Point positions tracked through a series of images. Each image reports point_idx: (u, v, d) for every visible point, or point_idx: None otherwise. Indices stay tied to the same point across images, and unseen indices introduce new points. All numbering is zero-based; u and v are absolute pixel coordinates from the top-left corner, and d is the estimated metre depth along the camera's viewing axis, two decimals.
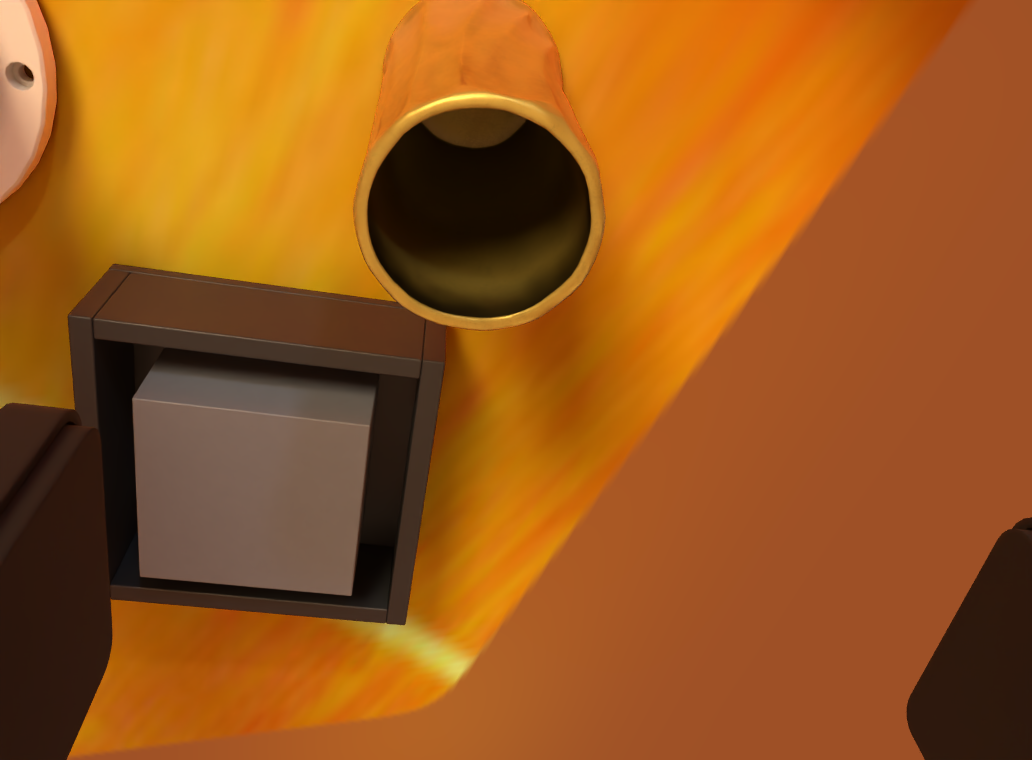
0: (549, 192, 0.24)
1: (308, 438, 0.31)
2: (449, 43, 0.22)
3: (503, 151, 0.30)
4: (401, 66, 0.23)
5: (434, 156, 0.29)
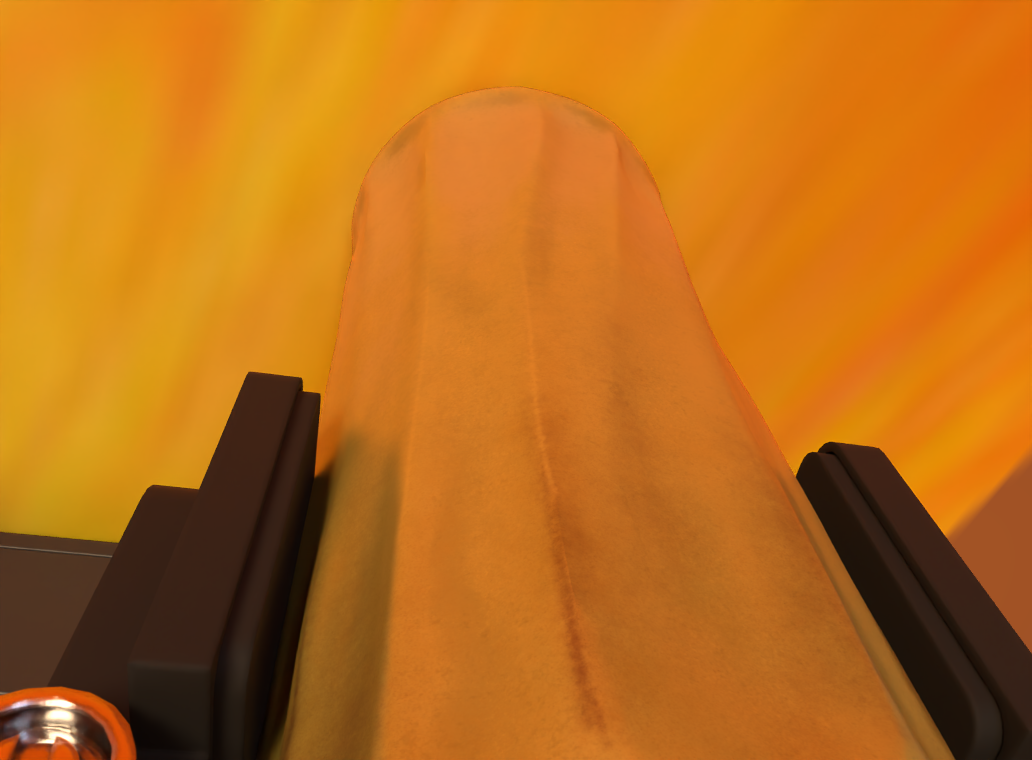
0: None
1: None
2: (492, 310, 0.09)
3: None
4: (376, 326, 0.10)
5: None
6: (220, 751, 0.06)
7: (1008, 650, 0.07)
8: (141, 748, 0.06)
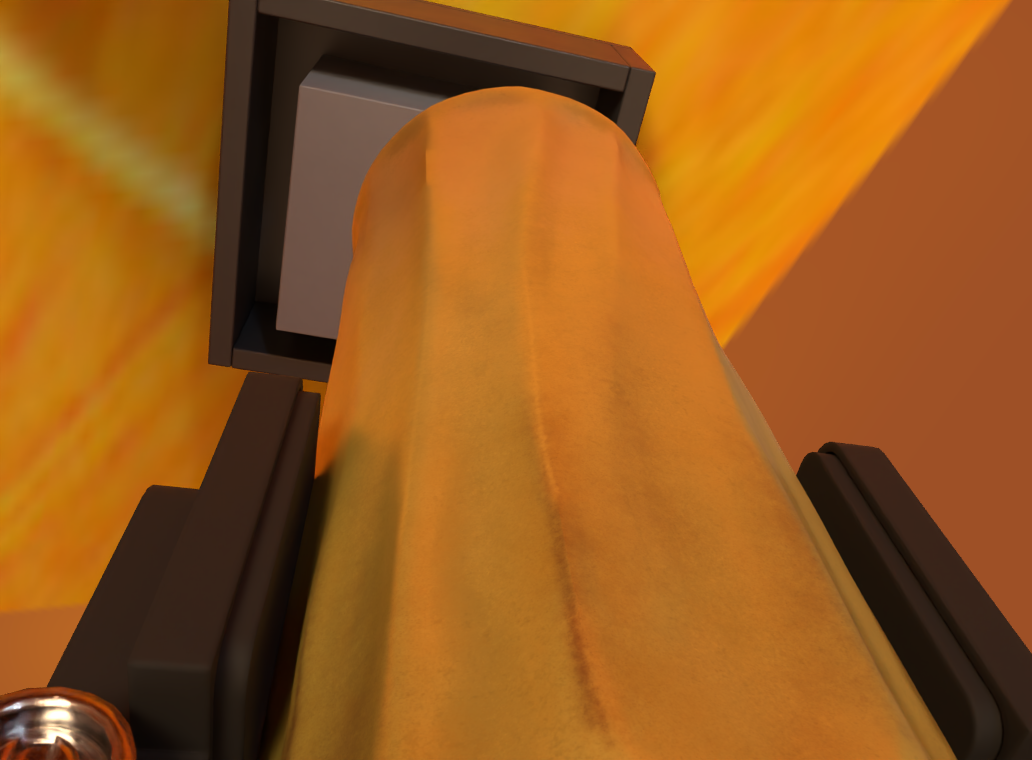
0: None
1: None
2: (493, 310, 0.09)
3: None
4: (377, 326, 0.10)
5: None
6: (220, 751, 0.06)
7: (1008, 650, 0.07)
8: (141, 748, 0.06)
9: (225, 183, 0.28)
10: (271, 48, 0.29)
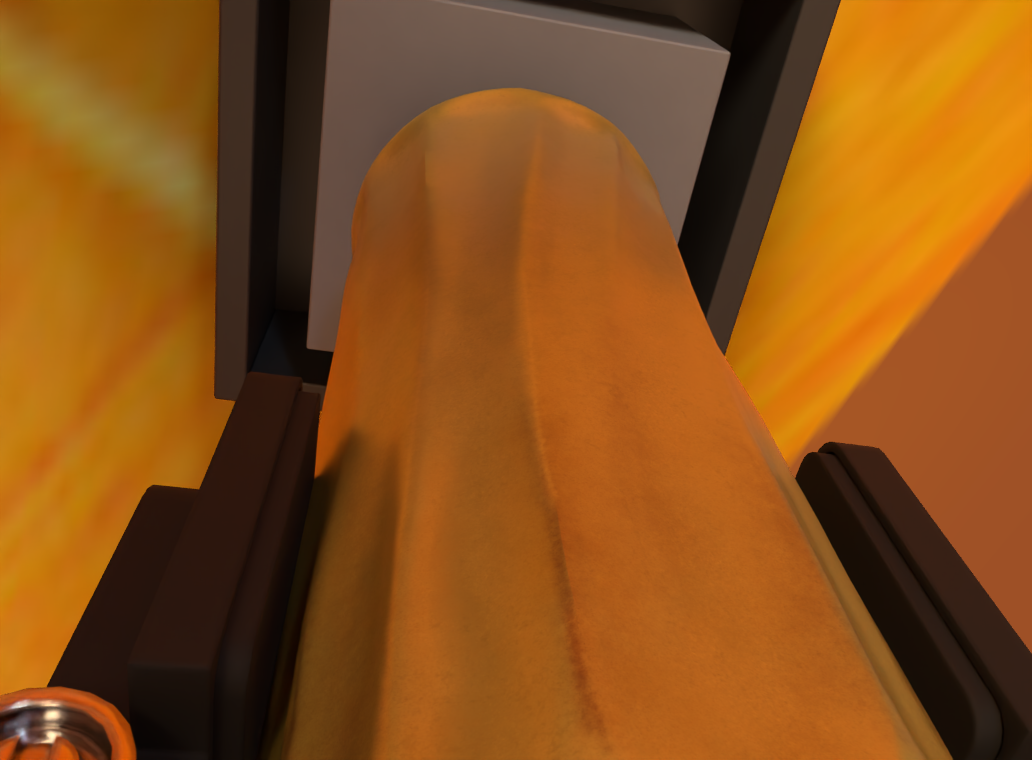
0: None
1: (622, 77, 0.18)
2: (491, 313, 0.09)
3: None
4: (376, 328, 0.10)
5: None
6: (220, 751, 0.06)
7: (1008, 650, 0.07)
8: (141, 748, 0.06)
9: (227, 140, 0.19)
10: None
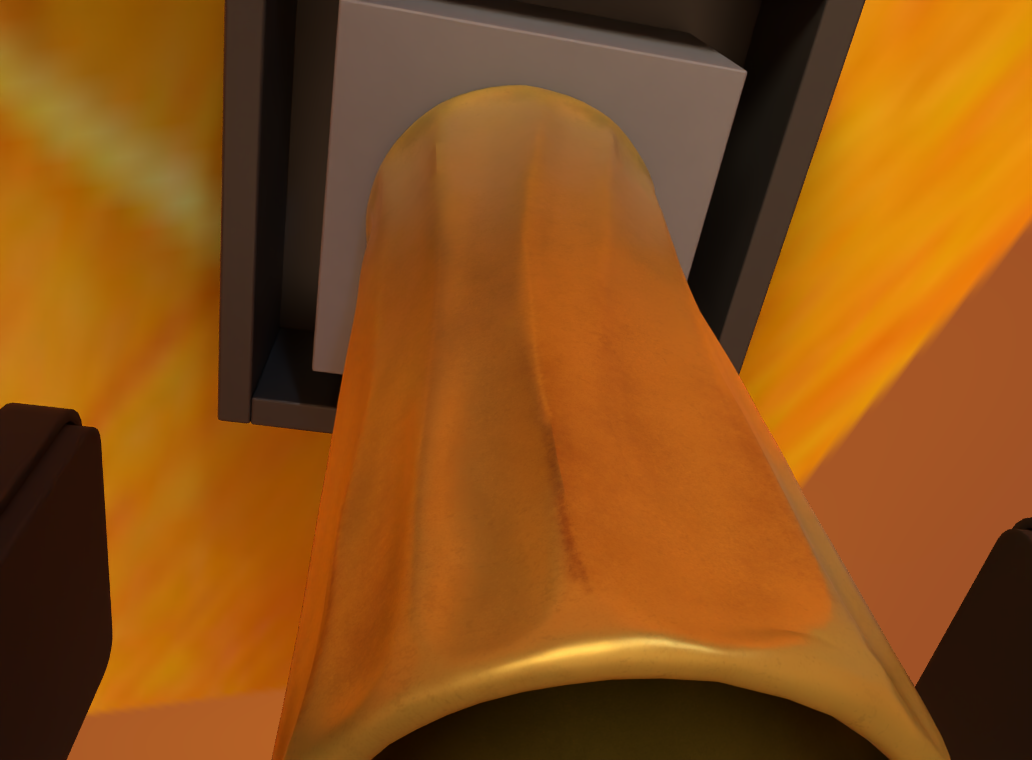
0: None
1: (636, 96, 0.18)
2: (497, 277, 0.10)
3: None
4: (393, 295, 0.11)
5: None
6: None
7: None
8: None
9: (232, 159, 0.19)
10: None
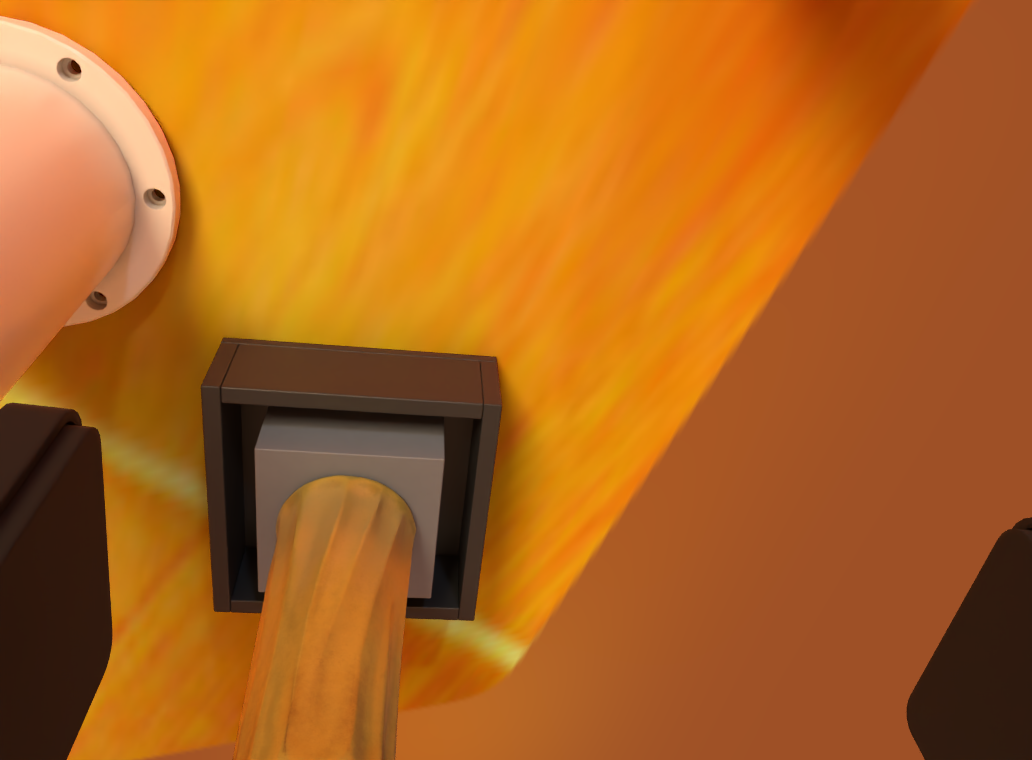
0: None
1: (394, 472, 0.38)
2: (296, 629, 0.31)
3: None
4: (268, 622, 0.32)
5: None
6: None
7: None
8: None
9: (212, 502, 0.40)
10: None
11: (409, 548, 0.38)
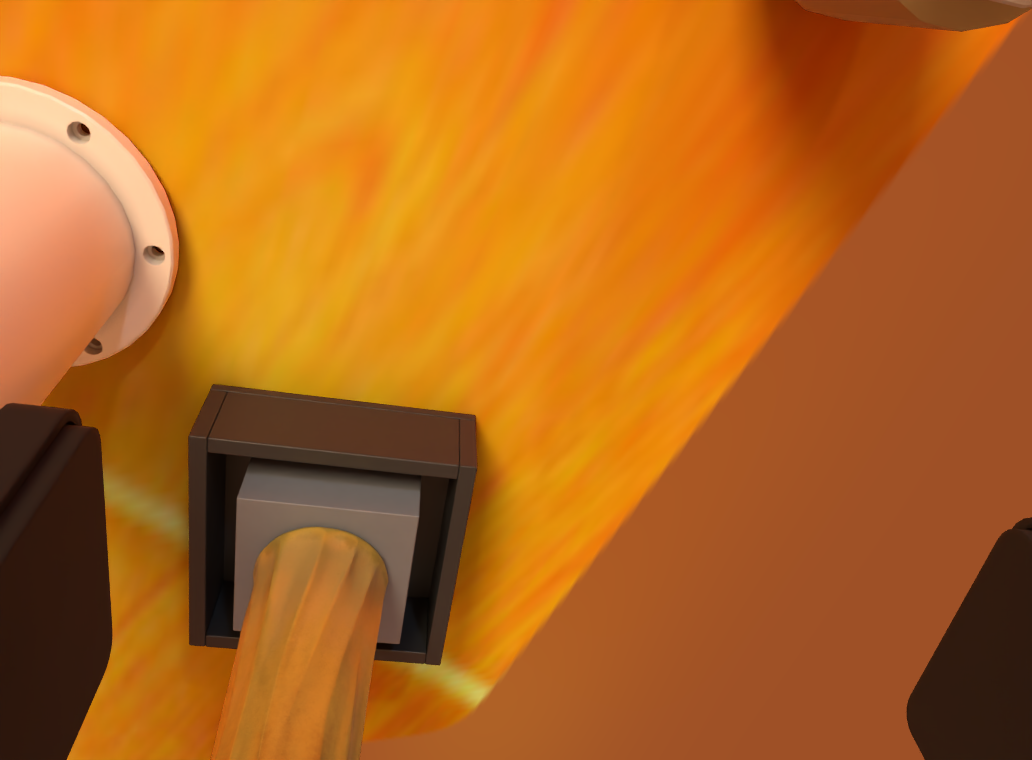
0: None
1: (370, 526, 0.40)
2: (266, 684, 0.32)
3: None
4: (240, 674, 0.34)
5: None
6: None
7: None
8: None
9: (193, 543, 0.41)
10: None
11: (380, 600, 0.40)
